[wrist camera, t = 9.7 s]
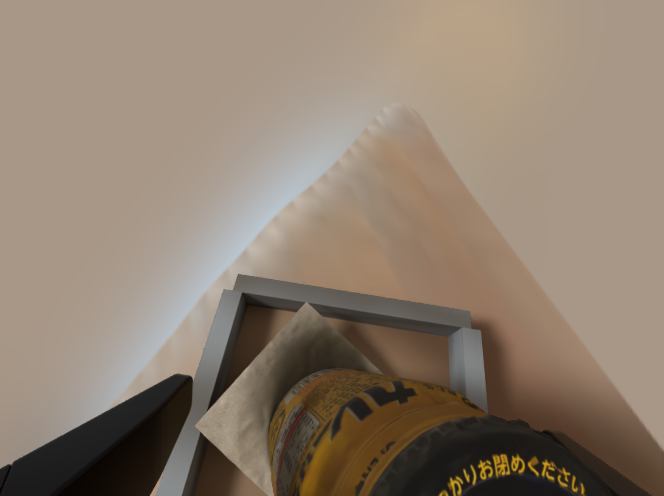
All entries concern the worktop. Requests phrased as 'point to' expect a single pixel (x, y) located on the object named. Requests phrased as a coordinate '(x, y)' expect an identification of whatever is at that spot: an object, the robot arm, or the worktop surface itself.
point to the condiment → (374, 429)
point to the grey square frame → (350, 321)
